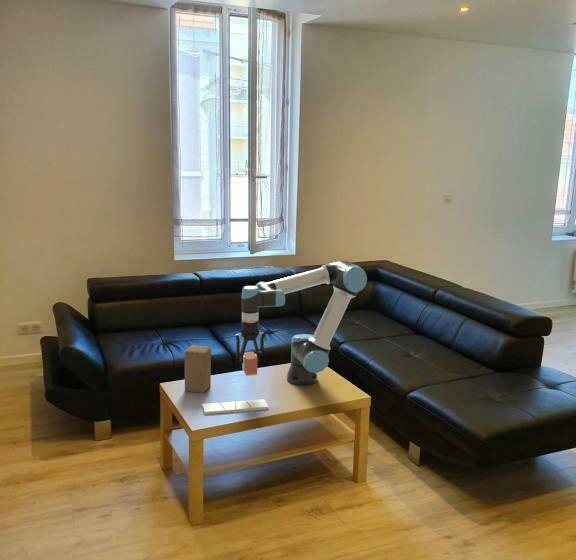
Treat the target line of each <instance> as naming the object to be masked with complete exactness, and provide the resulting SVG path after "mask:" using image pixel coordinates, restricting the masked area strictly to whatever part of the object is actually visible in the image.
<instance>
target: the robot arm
mask: <svg viewBox="0 0 576 560" xmlns="http://www.w3.org/2000/svg"><path fill="white" fill-rule="evenodd" d="M367 281H368V277H367V273H366V271H365V270H364V269H363V268H362V267H360V266H359V265H357V264H355V263H352V262H351V261H349V260H338V261H335V262H330V263H327V264H323V265H321V267H319V268H317V269H313V270H308V271H305V272H301V273H297V274H294V275H291V276H287V277H283V278H280V279H276V280H272V281H267V282H266V281H259V282H258V283H256V284H255V285H245V286H243V288H242V290H241V331H240V333H235V334H234V336H235V339H236V340H235V353H236V356H237V357H239V361H240V364H241V366H242V367H241V369H242V371H243V372H244V371H245V356H244V352H246V348H247V344H248V342H250V341H252V343H253V346H254V350H255V353H254V354H255V355H256V357H257V363H259V362H260V356H261V355H263V354H264V353H265V352H264V349H265V348H264V347H265V345H264V343H265V342H264V340H265V339H264V338H265V336H266V334H265V333H264V331H262V332H261V331H259V312H260V311H259V309H260V308H271V307H272V308H273V307H277V308H278V307H283V306H284V305H285V303H286V294H289V293H294V292H298V291H301V290H305V289H308V288H311V287H315V286H319V285H322V284H323V285H324V284H327V285H330V284H333V285H332V287H333V293H332V295H331V297H330V299H329V301H328V304H327V306H326V308H325V310H324V312H323V314H322V317H321V318H320V320H319V323H318V324H317V327H316V329H315V331H314V333H313V334H309V333H308V334H306V333H302V334H301V333H300V334H294V335H293V336H292V337H291V342H290V343H291V352H290V366H289V368H288V371H287V373H286V380H287V382H288V383H291V384H293V385H298V386H309V385H313V384H315V383H317V381H318V373H321V372H323V371H324V370H325V369H326V368H327V367H328V365H329V362H330V358H329V354H330V351H331V346H330V343H331V341H332V339H333V337H334V336H335V334H336V331H337V328H338V326H339V324H340V323H341V320H342V318H343V316H344V314H345V313H346V310H347V309H348V305H349V303H350V301H351V300H352V299H354V298H356V296H357V295H358V293H359V292H360V291H363V289H364V288H365V287H366V285H367ZM258 336H259V346H258V342H257V338H258ZM241 337H242V338H243V341H242V345H240V343H241V341H240V339H241ZM240 346H241V348H240Z"/></svg>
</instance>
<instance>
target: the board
mask: <svg viewBox="0 0 576 560" xmlns="http://www.w3.org/2000/svg"><path fill="white" fill-rule="evenodd" d="M202 409H203V413H204V415H216V414H226V413H227V414H229V413H238V412H251V411H253V412H254V411H263V410H269V405H268V403H267V401H266V400H265V399H264V398H263V399H249V400H240V401H239V400H238V401H237V400H235V401H226V402H225V401H224V402H211V403H210V402H209V403H202Z"/></svg>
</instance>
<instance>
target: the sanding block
mask: <svg viewBox="0 0 576 560" xmlns="http://www.w3.org/2000/svg"><path fill="white" fill-rule="evenodd" d="M255 354H256V353H255V352H254V351H245V352H244V356H245V371H243V372H244V374H245V376H246V377H251V376H257V375H258V362H257V357H256V355H255Z"/></svg>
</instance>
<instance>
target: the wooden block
mask: <svg viewBox="0 0 576 560" xmlns="http://www.w3.org/2000/svg"><path fill="white" fill-rule="evenodd" d="M211 349H212V348H211V347H210V346H205V345H204V346H203V345H195V344H191V345H190V346H189V347H187V348H186V350H185V351H184V391H186V392H192V393H193V392H194V393H202V394H203V393H205V392H206V391H207V390H208V388H210V386H211V385H212V381H211V379H212V374H211V373H212V369H211V367H212V361H211V360H212V358H211V357H212V350H211Z"/></svg>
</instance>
